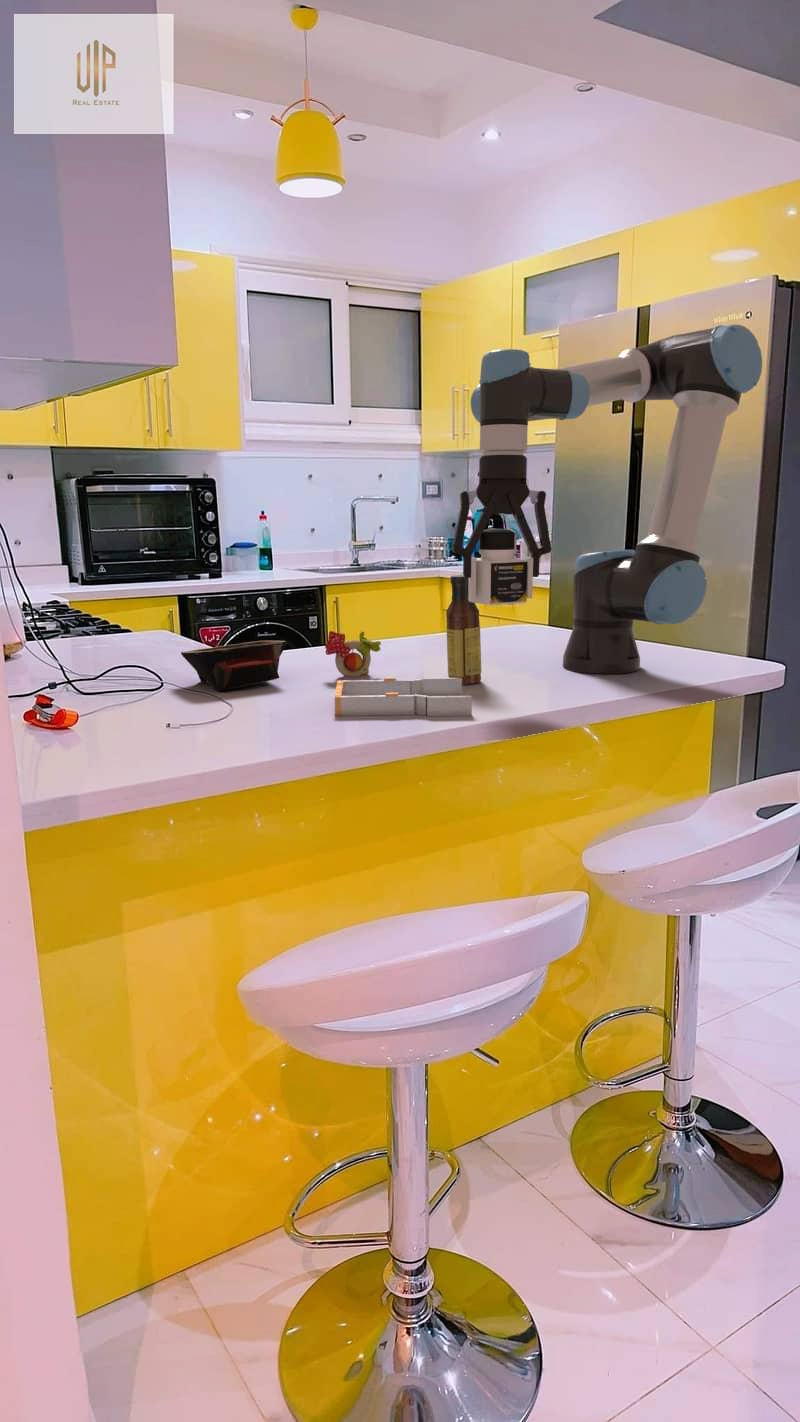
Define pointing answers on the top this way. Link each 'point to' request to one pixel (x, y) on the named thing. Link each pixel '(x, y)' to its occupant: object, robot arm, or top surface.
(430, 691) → the keyhole rails
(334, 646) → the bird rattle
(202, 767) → the top surface
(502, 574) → the medicine bottle
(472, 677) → the sauce bottle
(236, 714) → the top surface
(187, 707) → the top surface
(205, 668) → the baking dish
